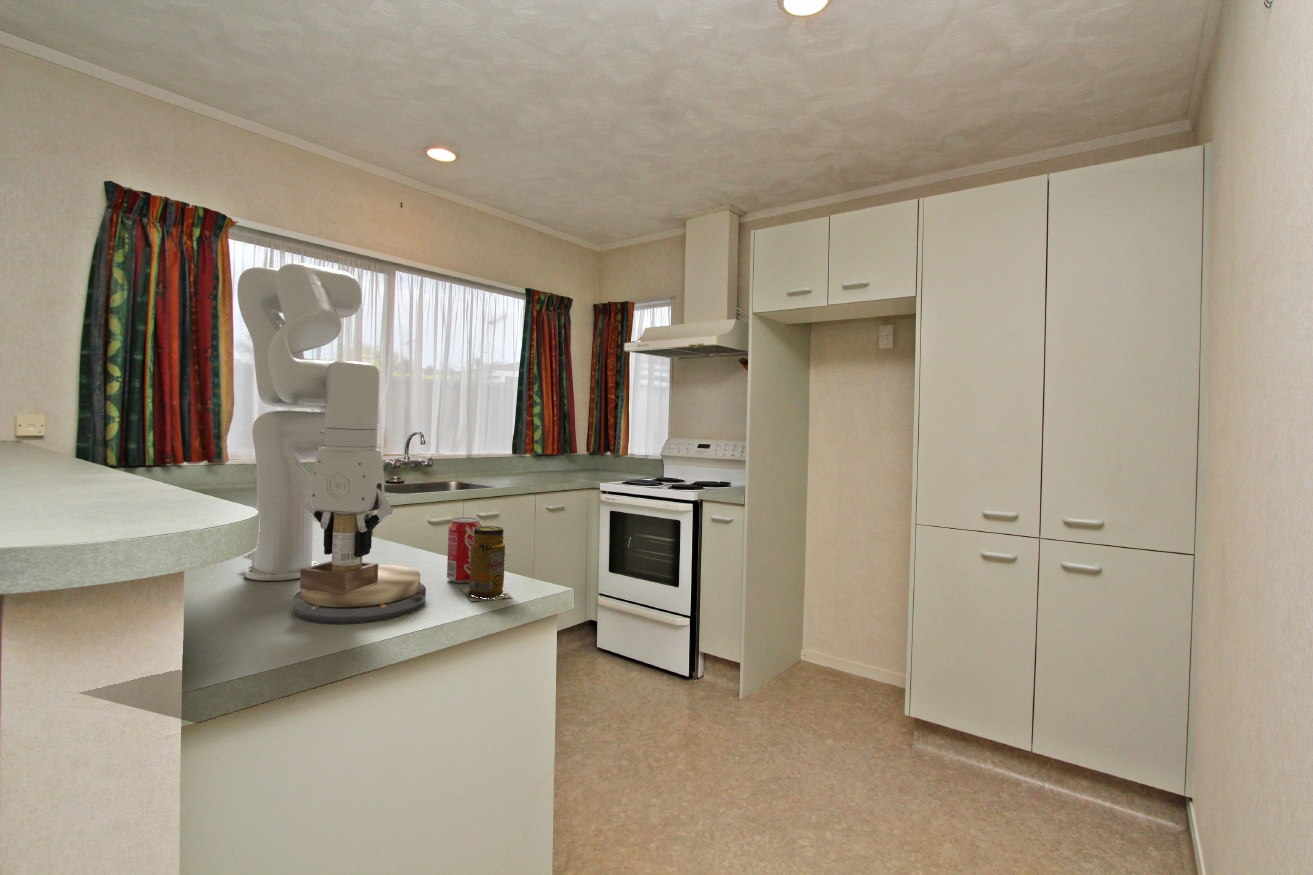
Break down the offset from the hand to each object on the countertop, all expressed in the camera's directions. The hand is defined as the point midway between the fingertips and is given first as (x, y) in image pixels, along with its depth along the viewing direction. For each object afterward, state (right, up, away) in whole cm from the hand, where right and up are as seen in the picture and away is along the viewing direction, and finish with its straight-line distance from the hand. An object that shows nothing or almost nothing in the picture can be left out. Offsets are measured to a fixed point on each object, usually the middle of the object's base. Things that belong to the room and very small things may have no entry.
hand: (347, 552), depth 98 cm
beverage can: (+11, -10, +23) cm, 27 cm away
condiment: (+18, -10, +14) cm, 25 cm away
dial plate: (0, -10, +5) cm, 11 cm away
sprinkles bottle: (0, -5, 0) cm, 5 cm away
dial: (0, -7, +5) cm, 9 cm away
